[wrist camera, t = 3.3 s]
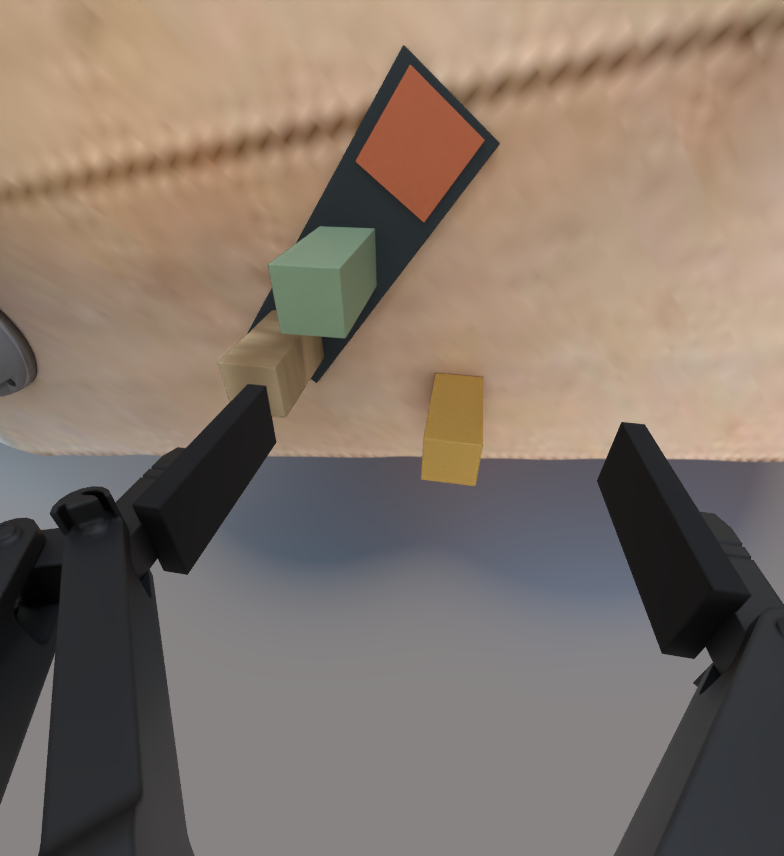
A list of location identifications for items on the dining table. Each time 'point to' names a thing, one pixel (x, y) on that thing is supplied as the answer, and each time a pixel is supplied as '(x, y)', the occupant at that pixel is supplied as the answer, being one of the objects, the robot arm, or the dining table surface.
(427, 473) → the tall mustard brick
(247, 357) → the tan tall block
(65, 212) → the dining table surface
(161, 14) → the dining table surface
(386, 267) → the word mat
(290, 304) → the sage I block
